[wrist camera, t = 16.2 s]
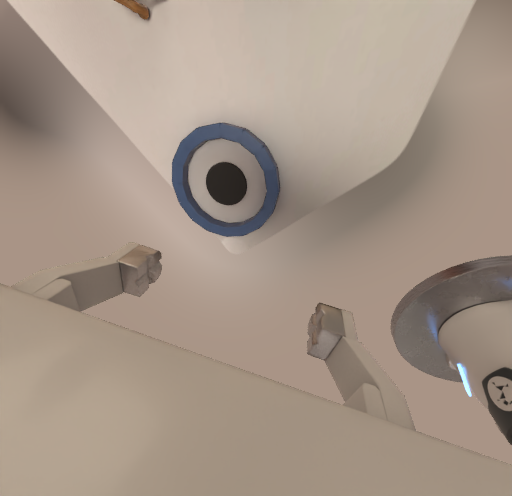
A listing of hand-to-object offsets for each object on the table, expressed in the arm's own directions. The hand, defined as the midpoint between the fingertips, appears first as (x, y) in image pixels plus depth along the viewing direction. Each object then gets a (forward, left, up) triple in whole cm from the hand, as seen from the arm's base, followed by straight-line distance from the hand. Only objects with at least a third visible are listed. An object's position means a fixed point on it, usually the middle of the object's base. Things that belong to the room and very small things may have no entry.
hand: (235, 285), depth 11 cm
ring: (+8, +3, -22) cm, 24 cm away
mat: (+8, +3, -22) cm, 24 cm away
